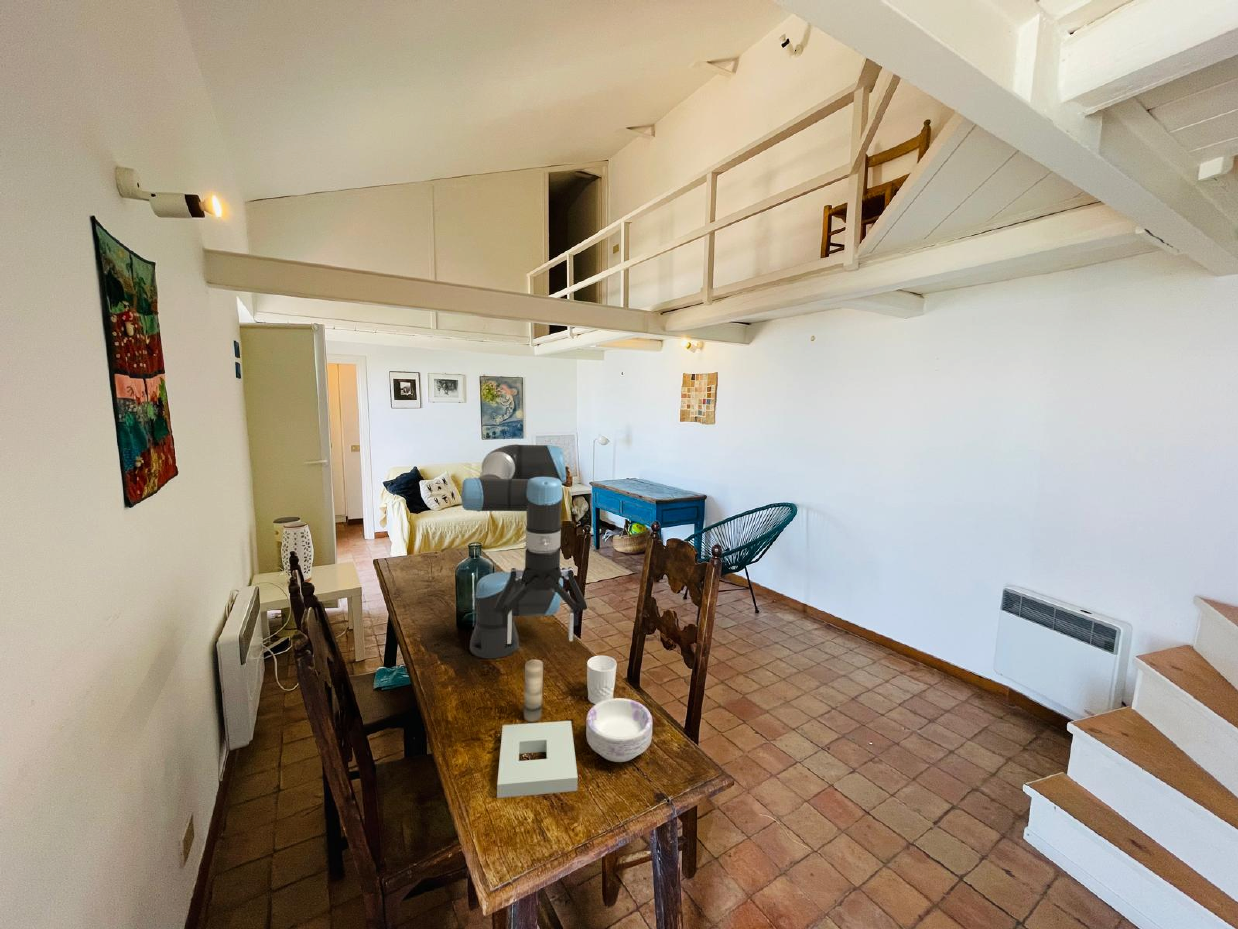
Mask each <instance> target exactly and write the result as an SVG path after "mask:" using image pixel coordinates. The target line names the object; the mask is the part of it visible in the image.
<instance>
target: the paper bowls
mask: <svg viewBox="0 0 1238 929" xmlns="http://www.w3.org/2000/svg"><path fill="white" fill-rule="evenodd" d="M585 721H586V722H585V723H586V727H585V728H586V730H585V731H586V732H585V733H586V735H585V736H586V741H587V743H588V745H589V746H590V748H591V749H592V750H593V751H594V752H595V753H597V754H599V755H600V756H601V757H602V758H604V759H606V760H607V761H610V762H614V763H623V762H625V763H626V762H629V761H631V760H633V759H634V758H636V757H637V756H639V755H642V754H643V753H644V752H645V751H646V750H647V749H648V748H649V746H650V745H651V742H652V738H653V716H652V714H651V713H650V711H649V709H648V708H647V707H646V706H645V705H643V704H642V703H641V702H638V701H636V700H634V699H630V698H623V697H615V698H614V697H613V698H612V699H607V700H604V701H601V702H599V703H597V704H594V705H592V707H591V708H590V709H589V711H588V713H587V714H586V719H585Z"/></svg>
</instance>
